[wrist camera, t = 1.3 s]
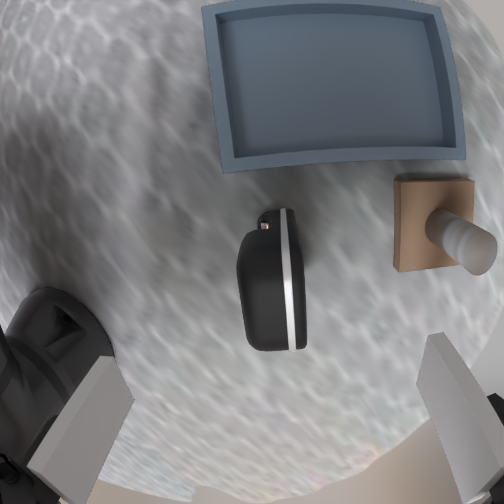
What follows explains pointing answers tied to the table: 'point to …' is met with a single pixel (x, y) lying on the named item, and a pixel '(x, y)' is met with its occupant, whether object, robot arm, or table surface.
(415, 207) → the wooden base with post
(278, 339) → the battery charger
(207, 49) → the parts tray
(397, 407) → the table surface
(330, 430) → the table surface
